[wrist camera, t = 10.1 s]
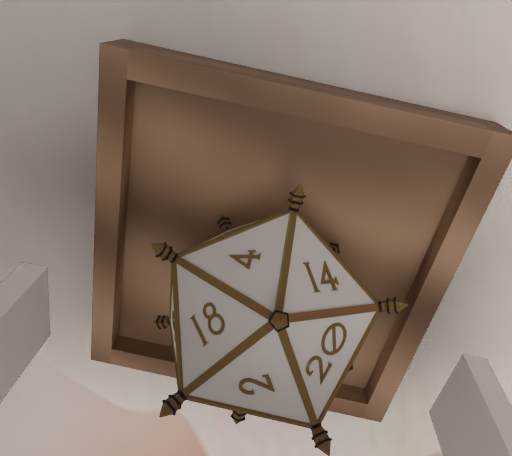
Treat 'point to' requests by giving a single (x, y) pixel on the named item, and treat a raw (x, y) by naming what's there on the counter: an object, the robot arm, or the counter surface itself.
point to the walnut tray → (279, 195)
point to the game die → (266, 320)
